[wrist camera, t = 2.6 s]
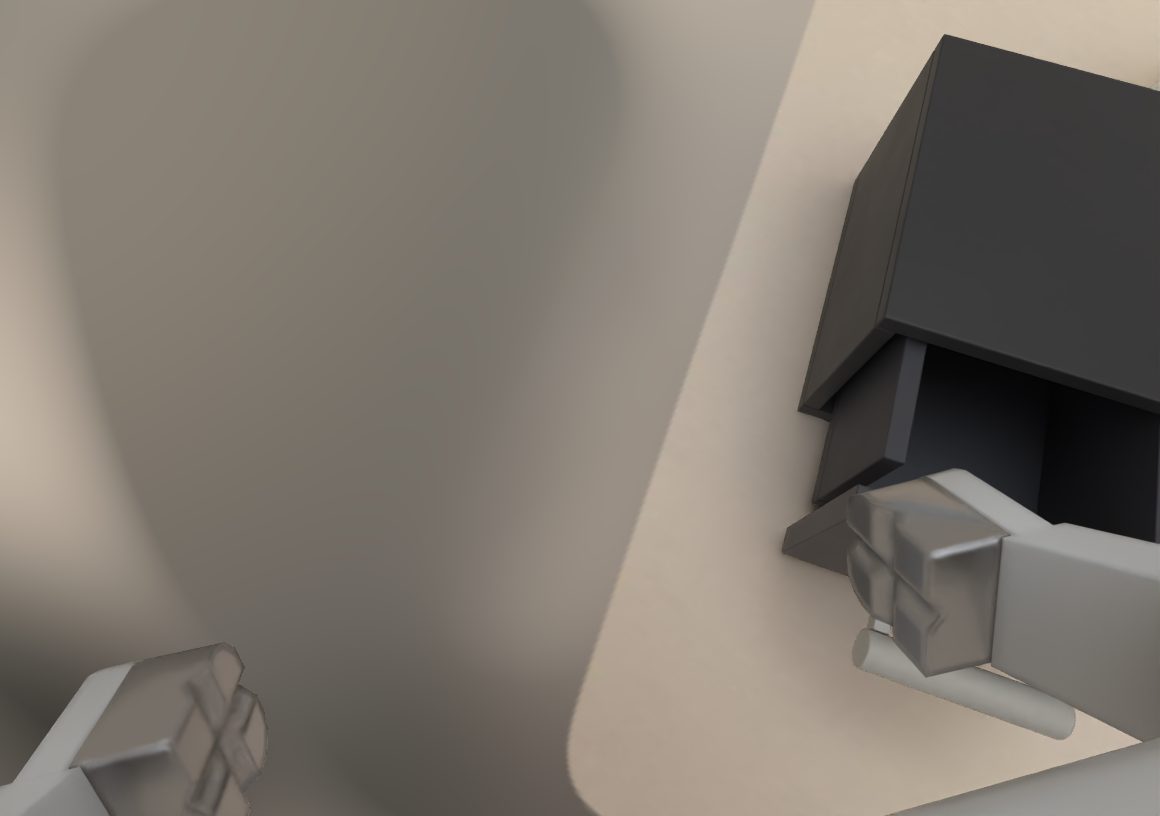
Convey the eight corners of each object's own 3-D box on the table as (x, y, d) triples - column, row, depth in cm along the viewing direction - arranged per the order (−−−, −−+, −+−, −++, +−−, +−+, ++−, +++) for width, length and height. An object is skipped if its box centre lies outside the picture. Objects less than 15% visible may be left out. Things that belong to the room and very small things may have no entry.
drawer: (1032, 748, 27) (1203, 777, 20) (757, 648, 28) (825, 643, 21) (1069, 368, 33) (1211, 285, 26) (841, 298, 34) (916, 200, 27)
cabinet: (1058, 495, 32) (1250, 429, 23) (797, 411, 33) (884, 317, 24) (1082, 247, 37) (1248, 113, 28) (854, 181, 38) (944, 32, 29)
